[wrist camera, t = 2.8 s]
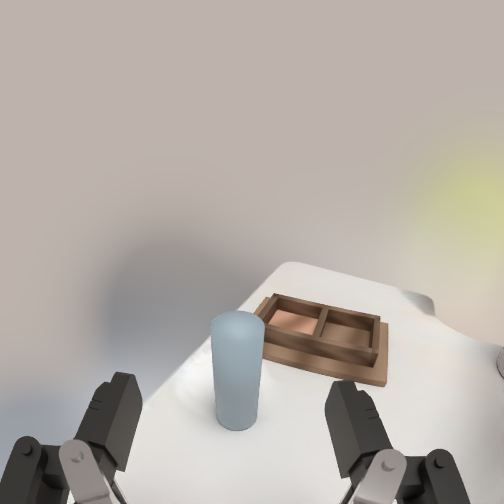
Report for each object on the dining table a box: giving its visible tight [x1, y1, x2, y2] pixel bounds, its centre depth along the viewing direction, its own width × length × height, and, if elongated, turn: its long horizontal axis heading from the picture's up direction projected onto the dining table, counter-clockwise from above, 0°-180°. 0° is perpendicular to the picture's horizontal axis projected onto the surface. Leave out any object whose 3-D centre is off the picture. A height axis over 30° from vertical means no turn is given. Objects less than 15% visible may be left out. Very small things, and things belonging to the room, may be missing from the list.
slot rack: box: [253, 293, 388, 387], centre depth 40 cm, size 22×14×4 cm, turn 67°
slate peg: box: [211, 311, 265, 431], centre depth 25 cm, size 4×4×13 cm
